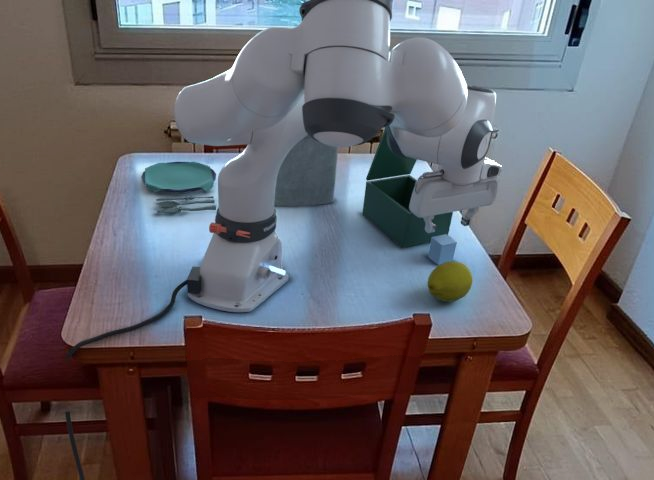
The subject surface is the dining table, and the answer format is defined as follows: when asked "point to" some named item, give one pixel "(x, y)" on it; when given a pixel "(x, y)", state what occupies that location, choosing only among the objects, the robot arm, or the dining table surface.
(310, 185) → the hip flask
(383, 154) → the bin lid
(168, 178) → the cutlery set
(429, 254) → the block
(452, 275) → the lemon
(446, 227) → the bin
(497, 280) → the dining table surface
